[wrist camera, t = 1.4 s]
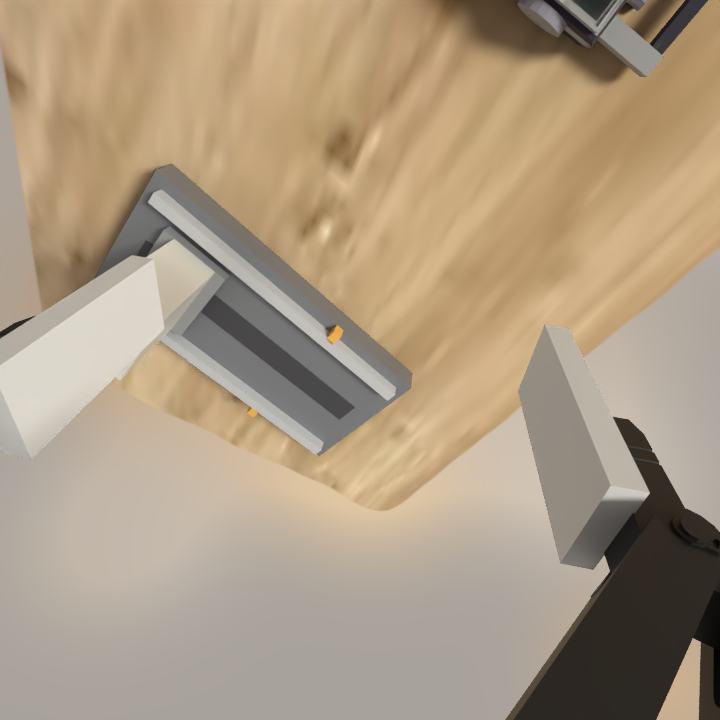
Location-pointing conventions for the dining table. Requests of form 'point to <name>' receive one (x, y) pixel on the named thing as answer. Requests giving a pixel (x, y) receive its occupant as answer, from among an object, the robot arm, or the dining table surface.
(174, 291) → the fader tab
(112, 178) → the dining table surface
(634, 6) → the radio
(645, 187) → the dining table surface
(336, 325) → the grey slider base
